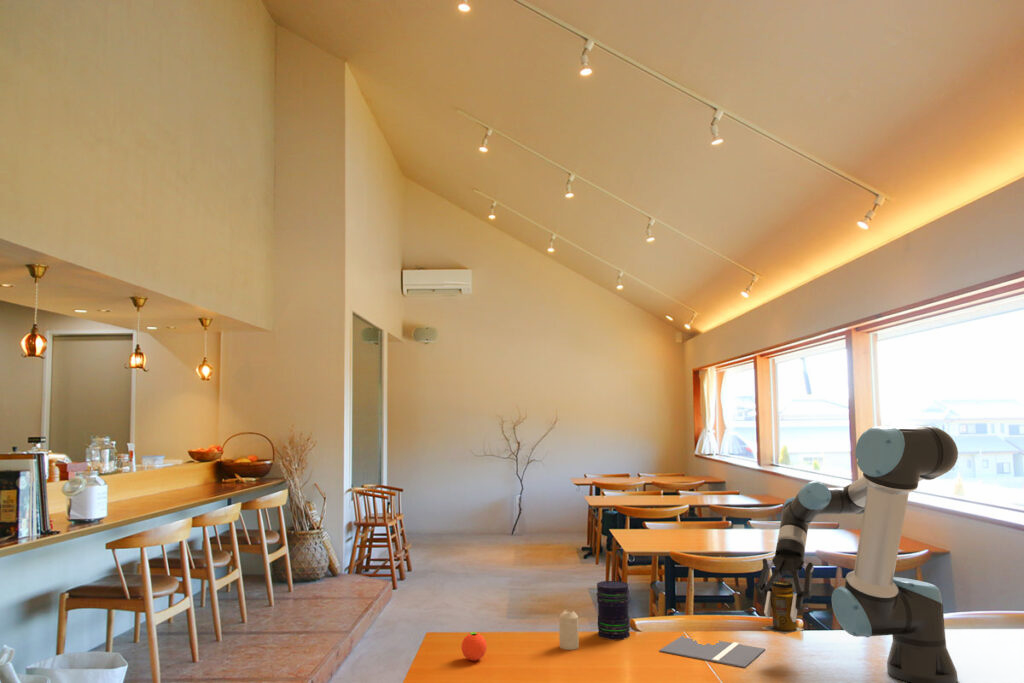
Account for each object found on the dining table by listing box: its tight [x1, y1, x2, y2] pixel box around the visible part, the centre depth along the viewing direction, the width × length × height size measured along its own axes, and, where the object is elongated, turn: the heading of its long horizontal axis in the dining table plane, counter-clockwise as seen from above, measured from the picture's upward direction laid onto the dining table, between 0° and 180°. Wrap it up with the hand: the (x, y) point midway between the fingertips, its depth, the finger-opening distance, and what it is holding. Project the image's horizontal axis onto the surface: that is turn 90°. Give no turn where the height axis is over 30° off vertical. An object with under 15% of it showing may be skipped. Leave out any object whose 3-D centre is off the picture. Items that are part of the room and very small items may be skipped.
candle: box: [558, 609, 580, 651], centre depth 195 cm, size 6×6×10 cm
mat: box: [658, 635, 766, 669], centre depth 190 cm, size 24×18×1 cm
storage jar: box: [596, 580, 631, 641], centre depth 207 cm, size 10×10×15 cm
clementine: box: [460, 631, 488, 662], centre depth 185 cm, size 8×7×7 cm
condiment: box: [761, 580, 805, 635], centre depth 182 cm, size 7×8×12 cm
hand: (779, 617), depth 178 cm, fingers closed on condiment, 6 cm apart
